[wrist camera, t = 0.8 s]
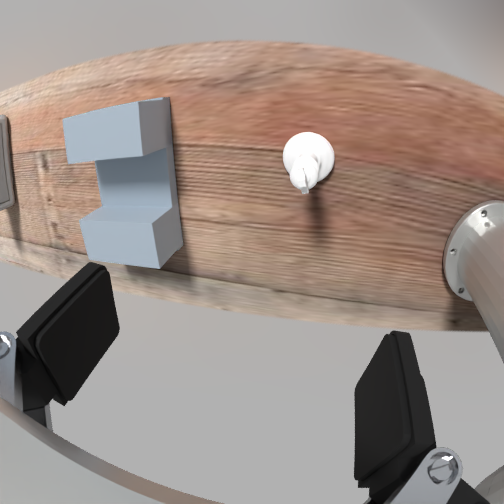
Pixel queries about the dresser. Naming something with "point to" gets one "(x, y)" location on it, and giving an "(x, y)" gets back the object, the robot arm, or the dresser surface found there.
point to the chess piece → (308, 159)
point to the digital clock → (5, 167)
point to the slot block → (129, 182)
